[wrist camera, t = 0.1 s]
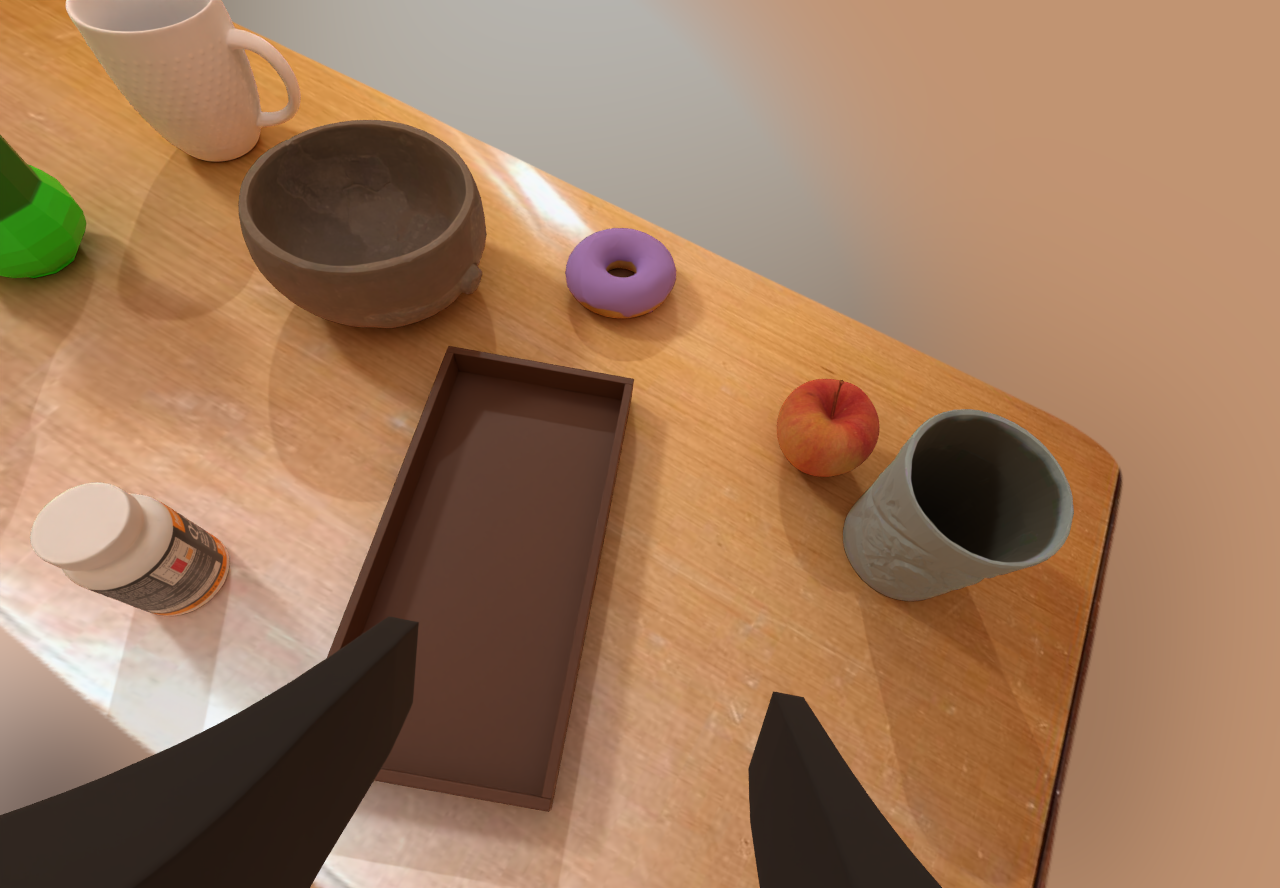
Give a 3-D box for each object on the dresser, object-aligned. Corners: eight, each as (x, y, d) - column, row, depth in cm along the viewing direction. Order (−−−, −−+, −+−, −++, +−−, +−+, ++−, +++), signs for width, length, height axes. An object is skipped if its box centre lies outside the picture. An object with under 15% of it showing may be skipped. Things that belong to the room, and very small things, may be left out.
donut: (647, 234, 60) (657, 200, 55) (684, 315, 58) (697, 288, 53) (549, 258, 57) (551, 225, 52) (584, 344, 55) (589, 318, 50)
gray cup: (923, 476, 50) (1015, 395, 39) (989, 596, 45) (1113, 541, 35) (811, 504, 48) (876, 426, 37) (868, 633, 43) (961, 586, 33)
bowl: (530, 298, 55) (521, 207, 46) (342, 395, 49) (290, 311, 40) (431, 188, 61) (406, 88, 52) (251, 262, 54) (187, 163, 46)
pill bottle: (248, 544, 42) (163, 483, 34) (205, 626, 40) (100, 584, 31) (168, 527, 42) (63, 463, 34) (120, 609, 40) (-9, 561, 31)
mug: (330, 110, 65) (277, -32, 54) (311, 181, 60) (248, 39, 48) (179, 105, 63) (91, -44, 52) (145, 176, 58) (40, 29, 47)
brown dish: (551, 809, 36) (549, 811, 34) (306, 765, 36) (284, 764, 34) (631, 399, 51) (634, 378, 48) (455, 368, 51) (448, 345, 48)
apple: (776, 498, 48) (810, 450, 41) (755, 417, 51) (783, 360, 44) (864, 489, 49) (912, 441, 42) (838, 411, 52) (878, 354, 45)
